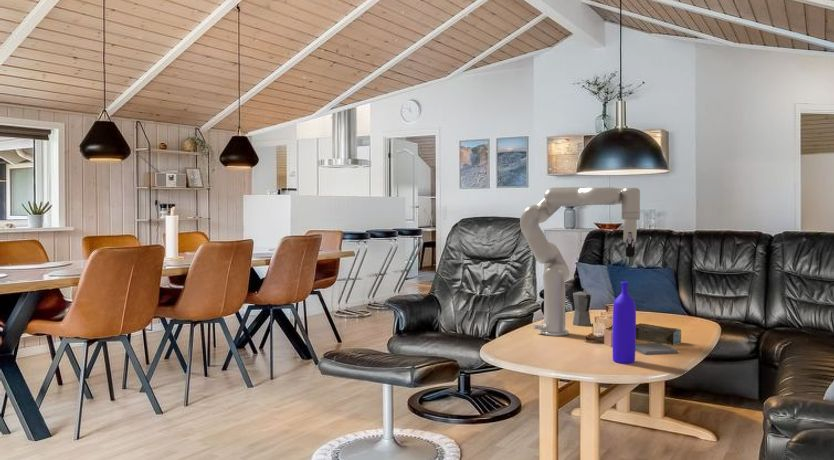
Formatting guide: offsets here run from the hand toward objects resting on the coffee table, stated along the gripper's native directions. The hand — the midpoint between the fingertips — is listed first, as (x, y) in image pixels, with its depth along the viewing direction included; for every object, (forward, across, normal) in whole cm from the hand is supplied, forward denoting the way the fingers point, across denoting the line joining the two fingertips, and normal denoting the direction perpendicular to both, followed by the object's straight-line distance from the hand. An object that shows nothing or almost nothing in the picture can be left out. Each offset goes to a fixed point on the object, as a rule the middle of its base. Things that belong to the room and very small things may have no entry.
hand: (630, 255), depth 289 cm
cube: (+37, +14, -6) cm, 40 cm away
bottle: (+37, +42, 0) cm, 56 cm away
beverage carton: (+37, -2, +11) cm, 39 cm away
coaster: (+37, +18, +10) cm, 42 cm away
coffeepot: (+37, -29, -23) cm, 52 cm away
